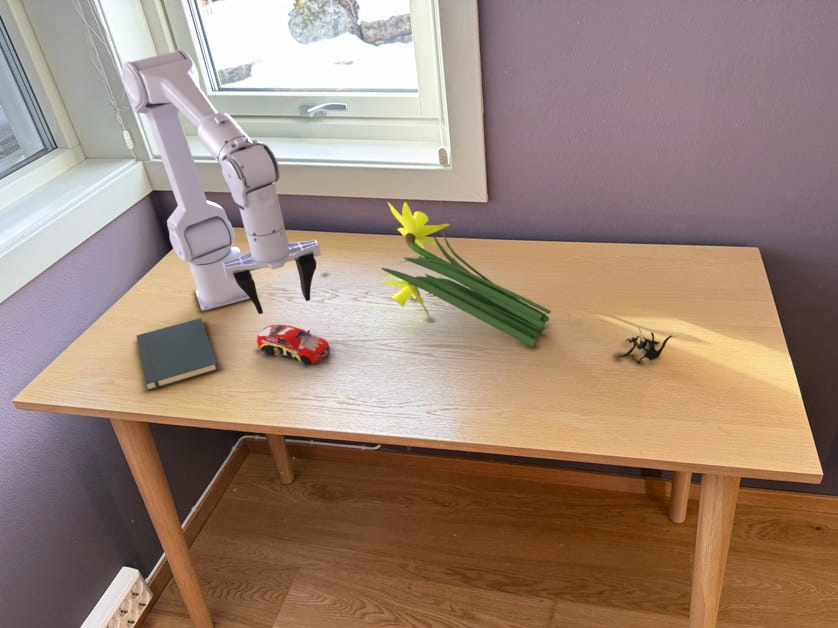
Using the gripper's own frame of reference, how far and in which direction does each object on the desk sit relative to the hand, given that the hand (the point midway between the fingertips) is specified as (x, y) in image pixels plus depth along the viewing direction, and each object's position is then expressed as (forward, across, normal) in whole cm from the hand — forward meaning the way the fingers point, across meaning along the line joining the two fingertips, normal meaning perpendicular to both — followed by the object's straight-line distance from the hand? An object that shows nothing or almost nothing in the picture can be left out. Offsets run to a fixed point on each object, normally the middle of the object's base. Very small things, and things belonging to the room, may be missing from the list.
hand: (283, 304), depth 122 cm
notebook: (+9, -18, +9) cm, 22 cm away
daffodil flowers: (+10, +30, -4) cm, 32 cm away
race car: (+10, 0, 0) cm, 10 cm away
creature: (+10, +49, -29) cm, 58 cm away
